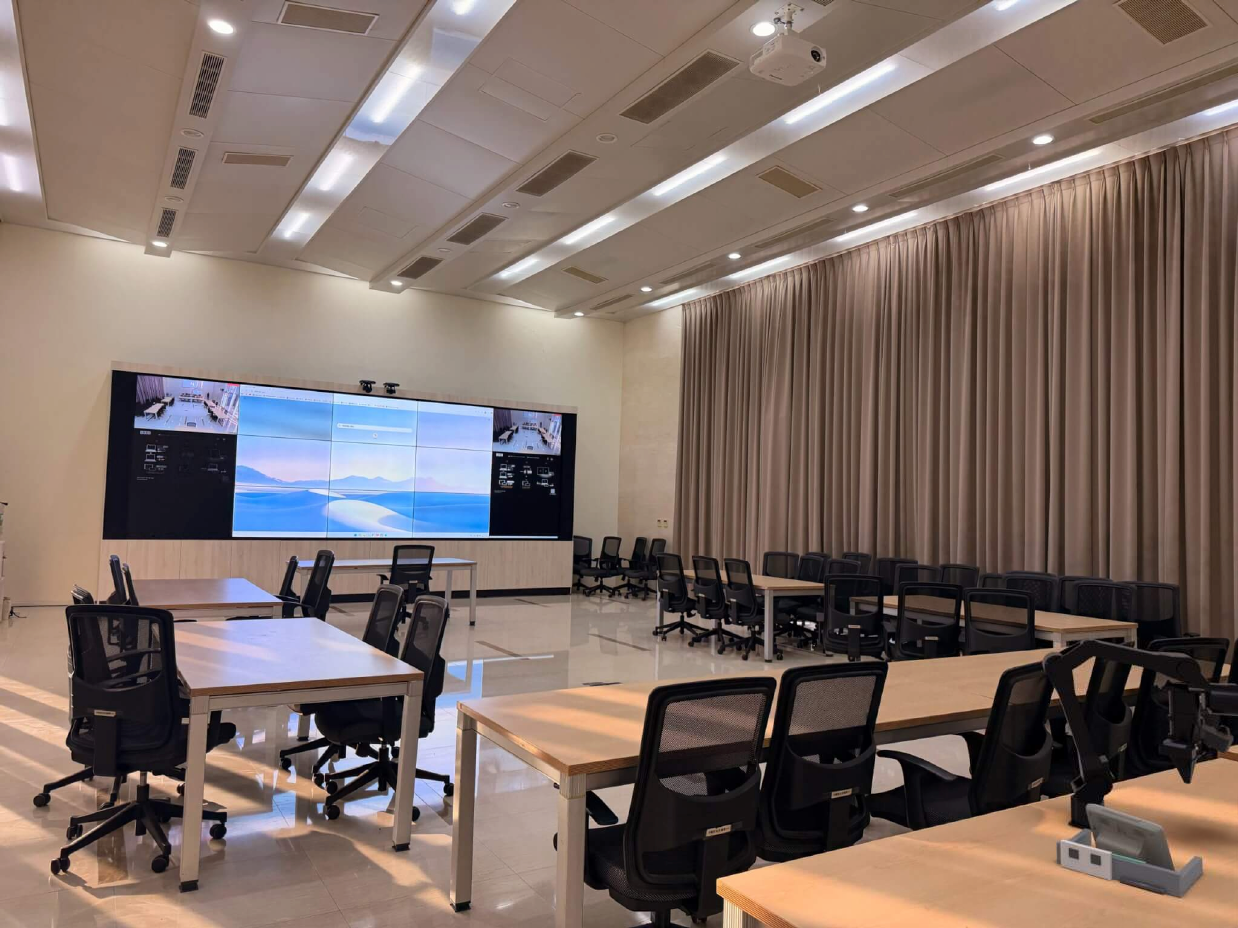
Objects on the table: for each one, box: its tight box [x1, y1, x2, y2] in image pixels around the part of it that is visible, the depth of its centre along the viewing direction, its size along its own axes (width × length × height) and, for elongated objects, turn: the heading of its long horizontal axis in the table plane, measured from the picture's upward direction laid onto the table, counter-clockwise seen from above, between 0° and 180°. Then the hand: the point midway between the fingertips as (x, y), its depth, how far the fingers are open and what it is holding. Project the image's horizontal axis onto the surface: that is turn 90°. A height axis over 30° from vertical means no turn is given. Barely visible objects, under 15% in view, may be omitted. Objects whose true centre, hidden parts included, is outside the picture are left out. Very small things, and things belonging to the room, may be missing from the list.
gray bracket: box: [1056, 828, 1204, 898], centre depth 168 cm, size 21×18×5 cm
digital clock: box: [1086, 804, 1176, 871], centre depth 169 cm, size 16×9×11 cm, turn 14°
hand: (1187, 783), depth 186 cm, fingers closed
